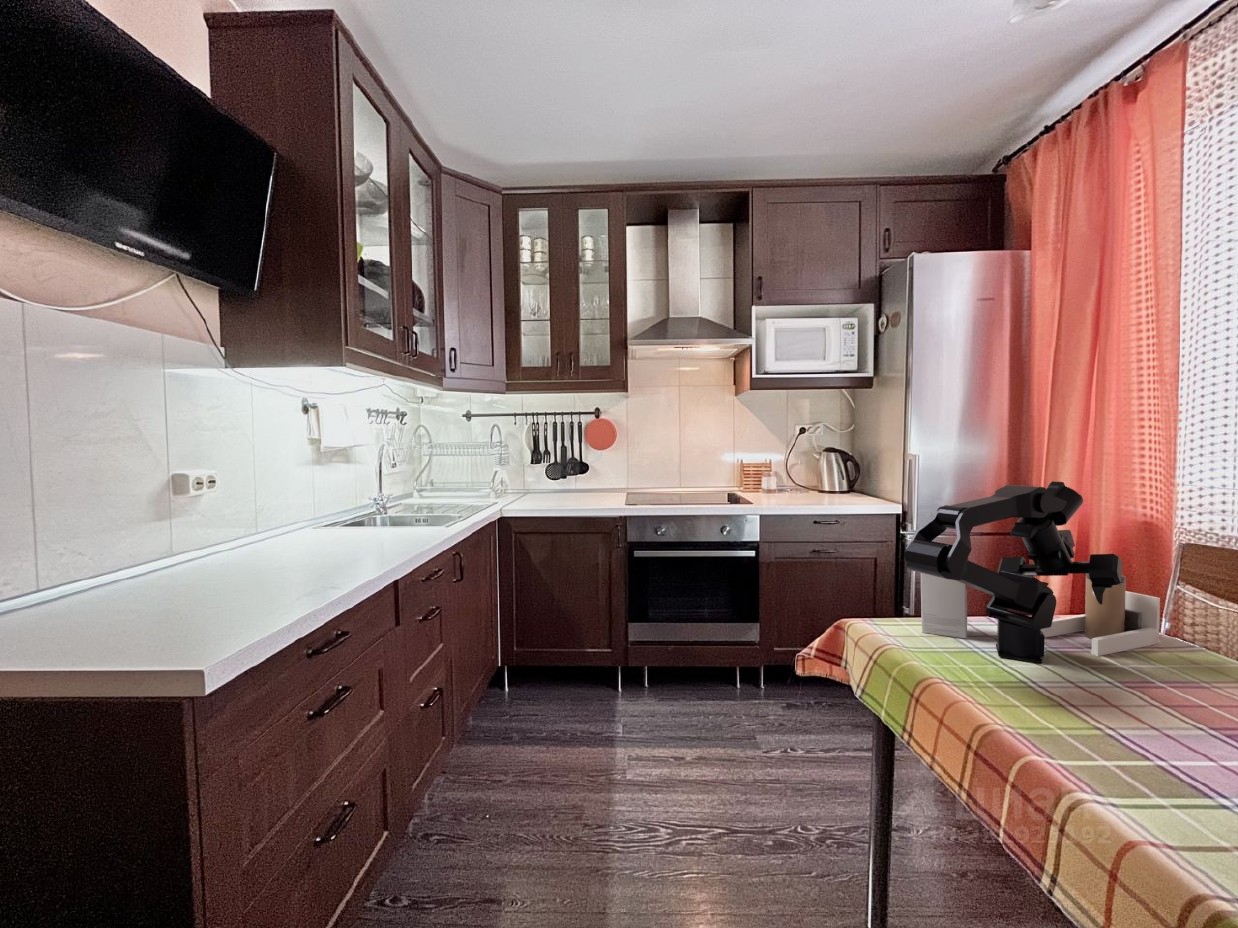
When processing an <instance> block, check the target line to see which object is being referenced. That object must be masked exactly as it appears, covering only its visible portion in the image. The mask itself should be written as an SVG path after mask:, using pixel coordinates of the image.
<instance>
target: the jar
mask: <svg viewBox="0 0 1238 928" xmlns="http://www.w3.org/2000/svg"><path fill="white" fill-rule="evenodd" d="M1126 582H1127V576H1126V575H1124V574H1122V575H1121V583H1120V584H1118V585H1113V587H1111V588H1106V589H1105V591H1104V593H1103V603H1102V604H1099V603H1098V601H1097V599H1096V597H1095V594H1094V592H1093V589H1092V587H1091V586H1092V582H1091V580H1090V578H1089V573H1085V597H1084V598H1085V600H1084V601H1085V602H1084V603H1085V605H1084V606H1085V607H1084V609H1085V610H1084V614H1085V630H1084V637H1086V638H1087V639H1089V640H1091V641H1092V638H1096V637H1102V636H1107V635H1112V634H1118V633H1123V632H1125V593H1126V591H1127V590H1126V589H1127V587H1126V585H1127V583H1126Z"/></svg>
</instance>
